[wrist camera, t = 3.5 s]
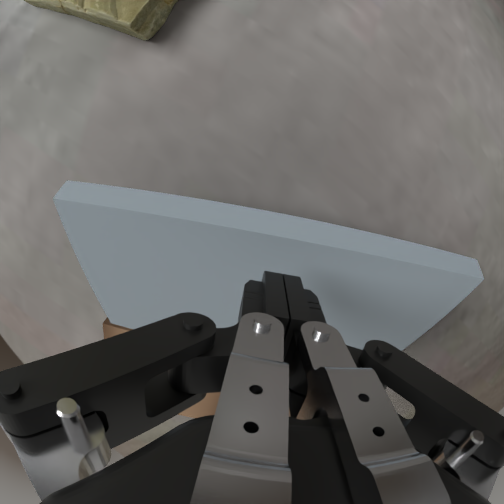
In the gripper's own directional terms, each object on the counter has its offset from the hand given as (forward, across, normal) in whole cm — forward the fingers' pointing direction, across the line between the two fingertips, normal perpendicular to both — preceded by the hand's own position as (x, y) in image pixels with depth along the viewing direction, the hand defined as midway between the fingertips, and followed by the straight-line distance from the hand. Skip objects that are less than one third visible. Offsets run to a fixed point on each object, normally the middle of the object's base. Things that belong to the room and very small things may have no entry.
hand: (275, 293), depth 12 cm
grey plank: (+6, 0, +3) cm, 7 cm away
